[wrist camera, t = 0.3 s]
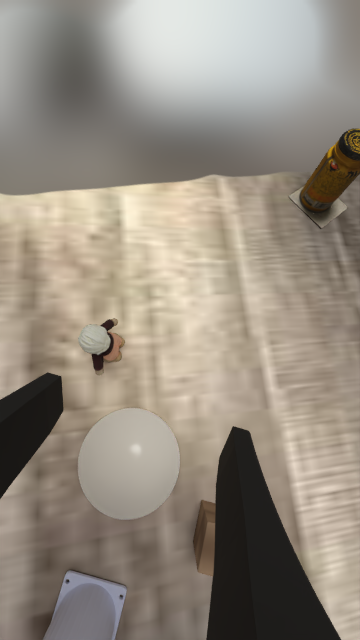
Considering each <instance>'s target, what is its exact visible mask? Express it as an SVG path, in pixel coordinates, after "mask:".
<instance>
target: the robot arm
mask: <svg viewBox="0 0 360 640" xmlns="http://www.w3.org/2000/svg"><path fill="white" fill-rule="evenodd" d="M62 412H63V395H62V379H61V376H58V375H55V374H51V373H46V374H44V375H42V376H41V377H39V378H37V379H35V380H34V381H32V382H30V383H29V384H27V385H25V386H23V387H22V388H20V389H18V390H17V391H15V392H13V393H11V394H10V395H8V396H6V397H4V398H3V399H1V400H0V499H1V497H2V496H3V494H4V493H5V492H6V490H7V489H8V487H9V486H10V485H11V483H12V482H13V481H14V480H15V478H16V477H17V476H18V474H19V473H20V472H21V470H22V469H23V468H24V467H25V465H26V464H27V463H28V461H29V460H30V459H31V457H32V456H33V455H34V454H35V452H36V451H37V450H38V448H39V447H40V446H41V444H42V443H43V442H44V440H45V439H46V438H47V436H48V435H49V434H50V432H51V430H52V429H53V427H54V426H55V424H56V422H57V421H58V419H59V417H60V415H61V414H62ZM66 579H69V582H67V580H66ZM126 592H127V588H126V586H124V585H121V584H117V583H114V582H110V581H107V580H103V579H100V578H96V577H93V576H89V575H86V574H82V573H79V572H75V571H72V570H69V571H68V572H67V573H66V575H65V578H64V581H63V584H62V587H61V591H60V594H59V597H58V601H57V604H56V607H55V611H54V614H53V617H52V621H51V624H50V626H49V628H48V630H47V632H46V634H45V636H44V638H43V640H115V636H116V632H117V628H118V624H119V620H120V616H121V612H122V608H123V604H124V600H125V596H126ZM121 594H122V595H123V597H120V595H121ZM206 640H341V639H340V637H339V635H338V633H337V631H336V630H335V628H334V626H333V624H332V622H331V621H330V619H329V617H328V615H327V613H326V612H325V610H324V608H323V606H322V604H321V603H320V601H319V599H318V597H317V595H316V593H315V591H314V589H313V588H312V586H311V584H310V582H309V580H308V578H307V576H306V574H305V572H304V570H303V568H302V566H301V564H300V562H299V560H298V557H297V555H296V553H295V551H294V549H293V547H292V545H291V543H290V540H289V538H288V536H287V534H286V532H285V529H284V527H283V525H282V522H281V520H280V517H279V515H278V513H277V510H276V508H275V505H274V503H273V500H272V498H271V495H270V492H269V490H268V487H267V484H266V482H265V479H264V476H263V473H262V470H261V467H260V464H259V461H258V458H257V455H256V452H255V449H254V445H253V442H252V438H251V434H250V432H249V431H248V430H244V429H241V428H237V427H234V426H233V427H232V430H231V432H230V434H229V437H228V439H227V441H226V444H225V446H224V448H223V450H222V453H221V455H220V458H219V465H218V473H217V482H216V508H215V553H214V572H213V582H212V592H211V602H210V612H209V621H208V630H207V639H206Z"/></svg>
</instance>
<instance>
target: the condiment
mask: <svg viewBox="0 0 360 640" xmlns="http://www.w3.org/2000/svg"><path fill="white" fill-rule="evenodd" d="M359 174H360V129H351V130H349V131H346V132H345V133H344V134H343V135H342V136H341V137H340V139H339V141H338V142H337V143H336V144H335V145H334V146H333V147H331V148H330V149H329V150H328V152H327V153H326V155H325V156H324V158H323V159H322V161H321V162H320V164H319V165H318V167H317V168H316V170H315V171H314V172H313V174H312V176H311V177H310V178H309V180H308V181H307V183H306V184H305V185H304V186H303V187H302V188H300V189H299V190H297V191H296V192H294V193H293V194H292V195H290V196H289V197H290V198H291V199H292V200H293V201H294V202H295V204H297V205H298V207H300V209H302V210H303V211H304V212H305V213H306V214H308V215H309V217H310V218H311V219H312V220H313V221H314V222H316V223H317V224H318V225H319V226H320V227H321V228H323V227H324V226H325V225H327V224H328V223H329V222H330V221H332V220H333V219H334V218H336V217H337V216H338V215H339V214H341V213H342V212H343V211H344V210H346V209H347V207H346V206H345V204H343V203H342V202H341V201H340V200H339V199H338V197H339V196H340V195H341V194H342V193H343V192H344V190H345V189H346V188H347V187H348V186H349V185H350V184H351V183H352V182H353V181H354V180H355V178H356V177H357V176H358V175H359ZM331 205H332V208H331ZM313 213H314V214H313Z"/></svg>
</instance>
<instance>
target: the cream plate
mask: <svg viewBox="0 0 360 640" xmlns="http://www.w3.org/2000/svg"><path fill="white" fill-rule="evenodd" d="M179 468H180V453H179V447H178V443H177V440H176V437H175V435H174V433H173V431H172V430H171V428H170V427H169V425H168V424H167V423H166V422H165V421H164V420H163V419H162V418H161V417H159V416H158V415H156V414H155V413H153V412H151V411H148V410H145V409H141V408H124V409H120V410H117V411H114V412H112V413H110V414H108V415H106V416H105V417H103V418H102V419H100V420H99V421H98V422H97V423H96V424H95V425H94V426H93V427H92V428H91V430H90V431H89V433H88V434H87V436H86V438H85V439H84V441H83V444H82V446H81V450H80V453H79V459H78V475H79V481H80V485H81V487H82V490H83V492H84V494H85V496H86V498H87V499H88V500H89V502H90V503H91V504H92V505H93V506H94V507H95V508H96V509H97V510H98V511H100V512H101V513H103V514H105V515H107V516H109V517H112V518H115V519H120V520H131V519H137V518H141V517H143V516H146V515H148V514H150V513H151V512H153V511H155V510H156V509H157V508H158V507H160V506H161V505H162V504H163V503H164V502H165V501H166V499H167V498H168V497H169V495H170V494H171V492H172V490H173V488H174V486H175V484H176V481H177V478H178V474H179Z"/></svg>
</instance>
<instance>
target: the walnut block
mask: <svg viewBox="0 0 360 640" xmlns="http://www.w3.org/2000/svg"><path fill="white" fill-rule="evenodd" d="M215 508H216V504H215V503H211V502H208V501H204V500H202V501H201V506H200V511H199V516H198V521H197V525H196V530H195V535H194V540H193V543H194V550H195V556H196V563H197V570H198V572H199V573H202V574H206V575H210V576H213V572H214V553H215Z"/></svg>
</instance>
